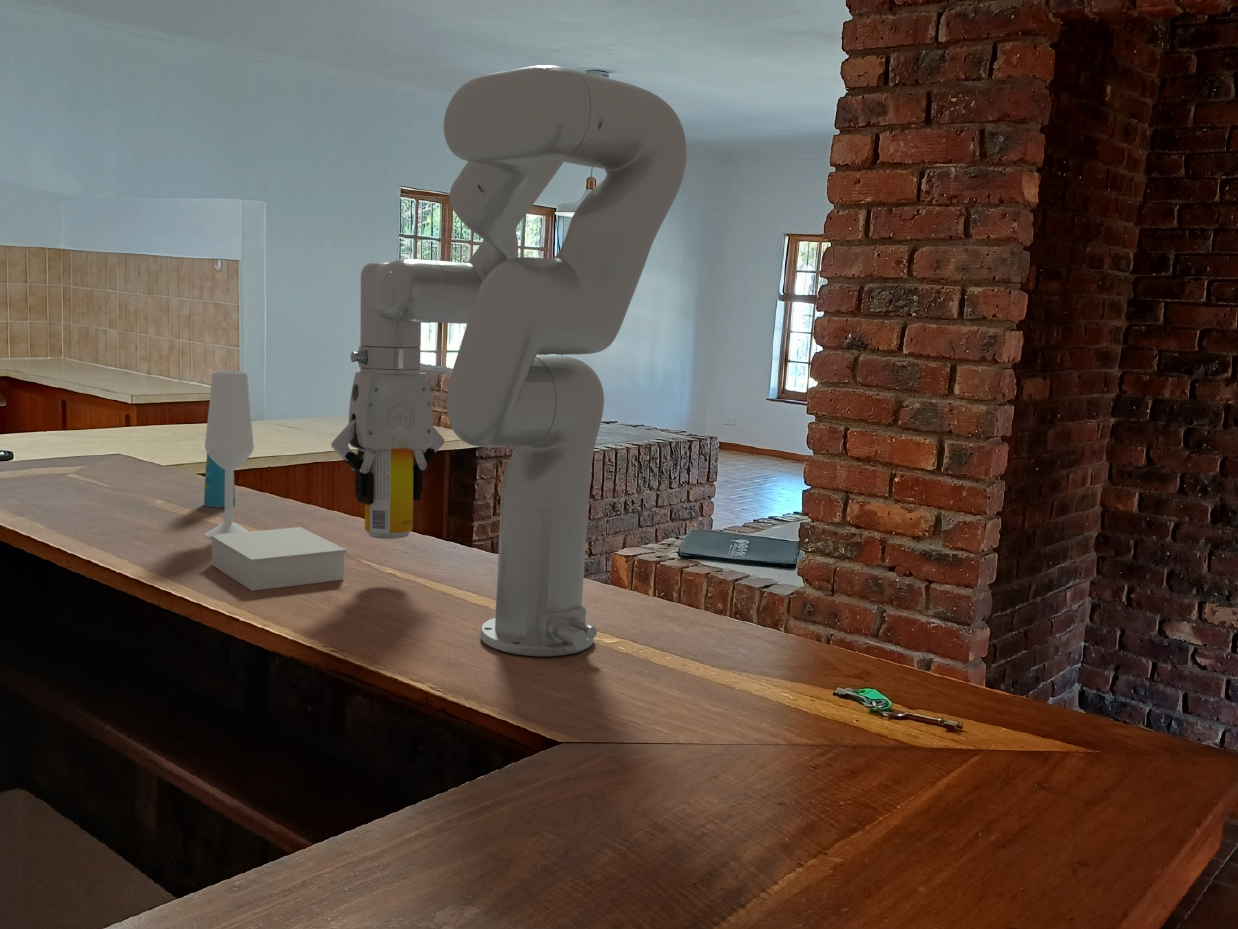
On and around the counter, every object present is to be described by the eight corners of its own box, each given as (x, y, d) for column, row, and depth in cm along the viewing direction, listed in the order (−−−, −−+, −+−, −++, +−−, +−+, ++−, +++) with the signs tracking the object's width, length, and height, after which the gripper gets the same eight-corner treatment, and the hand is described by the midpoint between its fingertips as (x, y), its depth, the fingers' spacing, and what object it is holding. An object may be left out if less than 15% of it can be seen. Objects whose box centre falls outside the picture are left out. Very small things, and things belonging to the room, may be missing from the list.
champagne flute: (202, 539, 157) (203, 372, 153) (206, 529, 163) (207, 369, 159) (251, 539, 158) (253, 375, 155) (253, 529, 165) (255, 371, 161)
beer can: (418, 532, 144) (419, 419, 142) (404, 540, 138) (406, 422, 136) (373, 529, 145) (374, 417, 143) (358, 538, 139) (358, 420, 137)
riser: (345, 579, 141) (346, 549, 140) (251, 591, 133) (251, 559, 132) (299, 555, 151) (300, 527, 151) (209, 564, 144) (210, 535, 143)
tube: (201, 501, 183) (201, 387, 180) (231, 500, 185) (232, 387, 182) (207, 510, 176) (208, 391, 173) (238, 509, 178) (240, 392, 176)
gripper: (340, 362, 130) (339, 510, 132) (464, 363, 141) (462, 500, 143) (313, 359, 136) (313, 501, 138) (435, 360, 147) (433, 492, 149)
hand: (389, 499), depth 141 cm, fingers closed on beer can, 6 cm apart
